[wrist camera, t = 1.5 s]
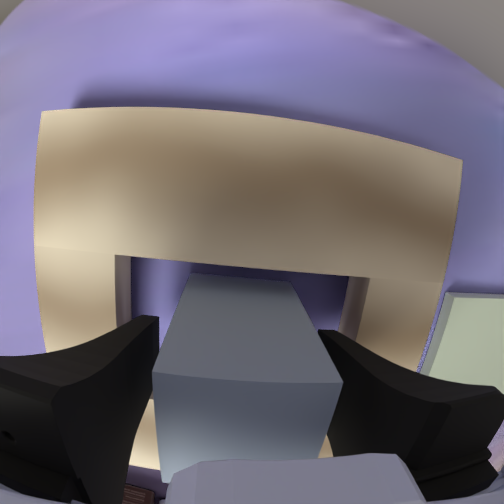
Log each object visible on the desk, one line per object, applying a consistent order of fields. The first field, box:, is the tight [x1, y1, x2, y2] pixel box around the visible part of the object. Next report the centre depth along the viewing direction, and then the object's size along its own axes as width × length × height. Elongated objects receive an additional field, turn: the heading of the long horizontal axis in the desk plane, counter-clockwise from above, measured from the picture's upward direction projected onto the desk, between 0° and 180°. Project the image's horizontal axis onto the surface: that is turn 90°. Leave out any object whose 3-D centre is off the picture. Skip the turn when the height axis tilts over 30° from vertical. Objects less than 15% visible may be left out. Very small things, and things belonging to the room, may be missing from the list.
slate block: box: [152, 273, 343, 483], centre depth 10 cm, size 4×4×7 cm
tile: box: [420, 292, 504, 394], centre depth 15 cm, size 10×10×1 cm
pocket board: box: [34, 107, 463, 470], centre depth 12 cm, size 16×16×2 cm
